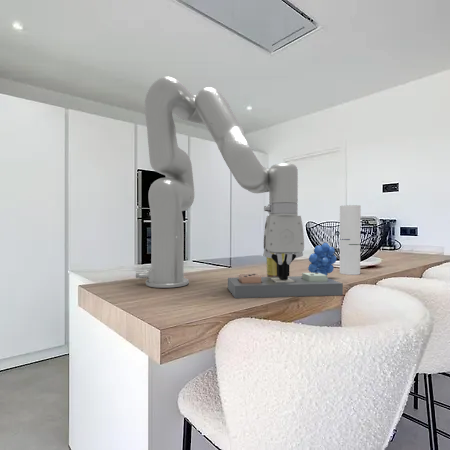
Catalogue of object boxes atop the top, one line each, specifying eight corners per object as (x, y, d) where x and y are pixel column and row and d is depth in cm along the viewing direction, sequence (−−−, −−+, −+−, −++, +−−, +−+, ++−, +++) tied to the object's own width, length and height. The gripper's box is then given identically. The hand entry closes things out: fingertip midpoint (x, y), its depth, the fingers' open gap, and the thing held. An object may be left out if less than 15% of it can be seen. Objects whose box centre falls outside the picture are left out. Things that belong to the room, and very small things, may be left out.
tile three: (242, 288, 82) (242, 276, 82) (238, 285, 87) (238, 273, 87) (261, 288, 82) (261, 276, 82) (256, 284, 87) (256, 273, 87)
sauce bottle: (285, 277, 108) (285, 219, 108) (286, 281, 102) (287, 218, 102) (265, 277, 108) (265, 218, 108) (266, 280, 102) (266, 218, 102)
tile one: (276, 293, 83) (276, 280, 83) (270, 289, 88) (270, 277, 88) (294, 292, 84) (294, 280, 84) (288, 288, 88) (288, 277, 88)
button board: (234, 298, 78) (234, 285, 78) (227, 288, 90) (227, 277, 90) (342, 295, 82) (342, 283, 82) (322, 286, 94) (322, 275, 94)
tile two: (309, 287, 84) (309, 275, 84) (302, 283, 89) (302, 272, 89) (327, 286, 85) (327, 275, 85) (319, 283, 90) (319, 272, 90)
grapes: (326, 276, 112) (326, 241, 112) (341, 279, 106) (341, 242, 106) (300, 278, 106) (300, 242, 106) (314, 281, 100) (314, 243, 100)
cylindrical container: (342, 271, 123) (342, 206, 123) (362, 272, 119) (362, 206, 119) (337, 273, 117) (337, 205, 117) (357, 275, 113) (357, 205, 113)
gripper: (259, 209, 81) (259, 282, 81) (315, 210, 83) (315, 280, 83) (252, 211, 88) (252, 277, 88) (304, 211, 90) (304, 276, 90)
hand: (283, 278), depth 86 cm, fingers closed
